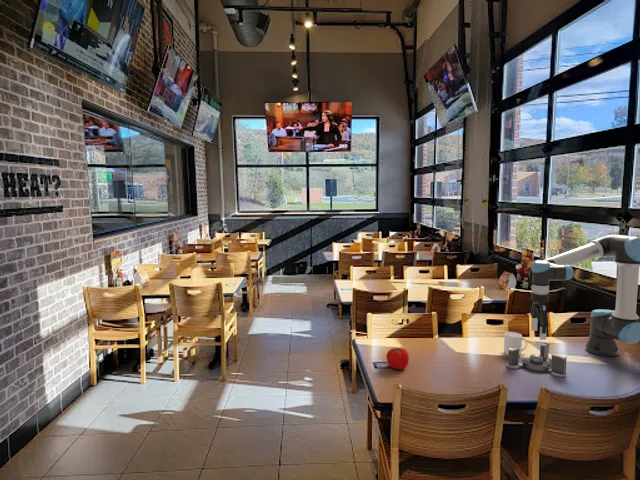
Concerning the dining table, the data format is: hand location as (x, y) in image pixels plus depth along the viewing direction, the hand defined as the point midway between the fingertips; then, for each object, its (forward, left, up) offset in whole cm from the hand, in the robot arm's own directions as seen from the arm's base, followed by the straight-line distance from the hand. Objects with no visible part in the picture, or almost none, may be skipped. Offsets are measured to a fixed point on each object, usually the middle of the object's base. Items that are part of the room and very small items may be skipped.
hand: (538, 334), depth 215 cm
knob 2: (-7, -9, -15) cm, 19 cm away
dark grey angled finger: (+11, 0, -15) cm, 19 cm away
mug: (+4, -18, -17) cm, 25 cm away
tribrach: (+2, 0, -17) cm, 17 cm away
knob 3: (-7, +8, -15) cm, 19 cm away
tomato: (+69, +5, -17) cm, 72 cm away
